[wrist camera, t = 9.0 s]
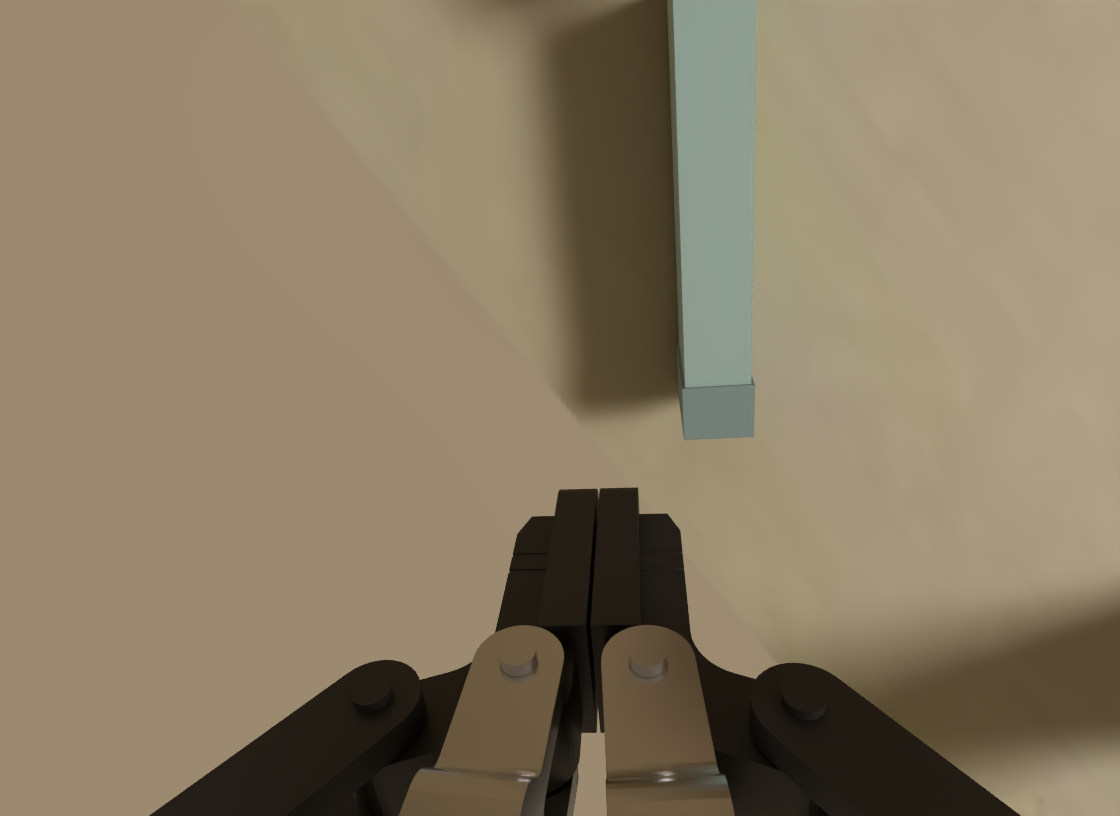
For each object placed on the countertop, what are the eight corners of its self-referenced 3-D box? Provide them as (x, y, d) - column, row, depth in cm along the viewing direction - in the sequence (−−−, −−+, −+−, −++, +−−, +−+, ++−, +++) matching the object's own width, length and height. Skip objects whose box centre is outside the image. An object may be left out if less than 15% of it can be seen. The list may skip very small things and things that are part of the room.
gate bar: (663, -10, 22) (668, -19, 19) (742, -20, 22) (761, -31, 19) (678, 391, 29) (684, 440, 25) (739, 388, 28) (753, 436, 25)
